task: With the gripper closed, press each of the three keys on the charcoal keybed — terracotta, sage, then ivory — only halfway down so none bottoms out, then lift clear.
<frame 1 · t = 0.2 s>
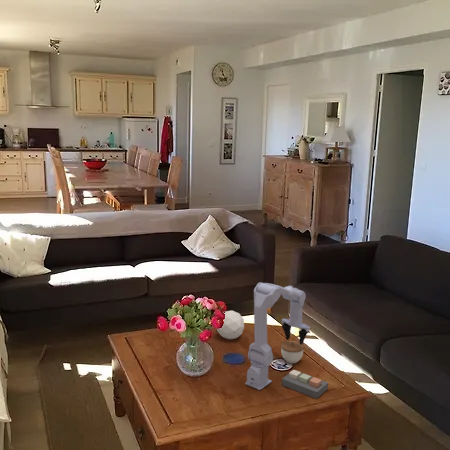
hand: (294, 341, 240), 10 cm above the table, fingers open, 7 cm apart
lidded jar: (291, 360, 243), on the table
keybed: (304, 387, 219), on the table
ivory key: (294, 375, 221), point 4 cm above the table, slide at 0.0 cm
terracotta key: (315, 383, 215), point 4 cm above the table, slide at 0.0 cm
sage key: (305, 379, 218), point 4 cm above the table, slide at 0.0 cm
geometric shape: (230, 337, 266), on the table
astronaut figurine: (260, 360, 243), on the table
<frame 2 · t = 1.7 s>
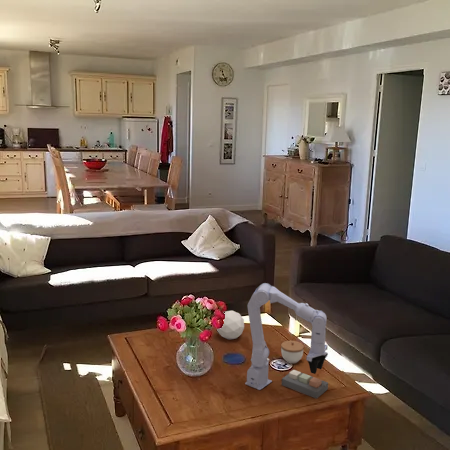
hand: (316, 370, 214), 9 cm above the table, fingers open, 4 cm apart
nothing on the table moved.
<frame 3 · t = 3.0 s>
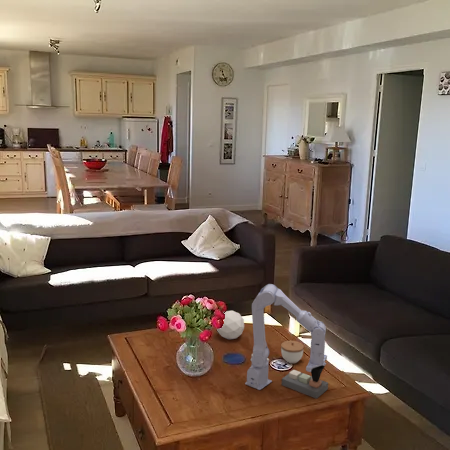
hand: (315, 380, 215), 5 cm above the table, fingers closed, pressing on terracotta key
terracotta key: (315, 383, 215), point 3 cm above the table, slide at 0.2 cm, touching gripper
everything else where it was.
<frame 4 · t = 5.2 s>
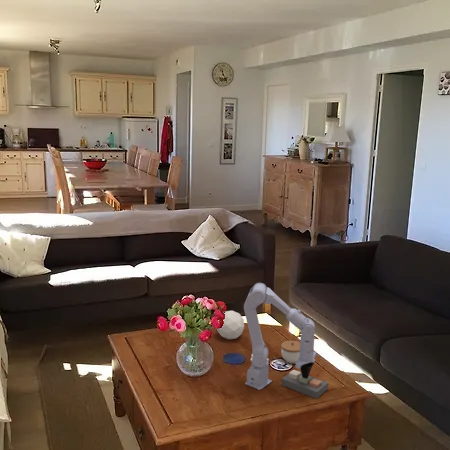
hand: (305, 377, 218), 4 cm above the table, fingers closed, pressing on sage key
terracotta key: (315, 384, 215), point 3 cm above the table, slide at 0.7 cm
sage key: (304, 380, 218), point 3 cm above the table, slide at 0.5 cm, touching gripper
everything else where it was.
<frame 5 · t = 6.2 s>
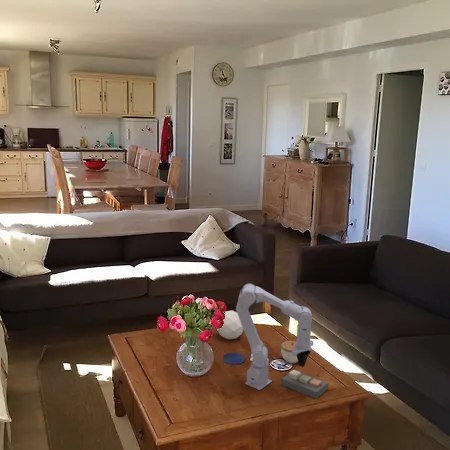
hand: (301, 365, 218), 9 cm above the table, fingers closed
sage key: (304, 380, 218), point 3 cm above the table, slide at 0.7 cm
everything else where it was.
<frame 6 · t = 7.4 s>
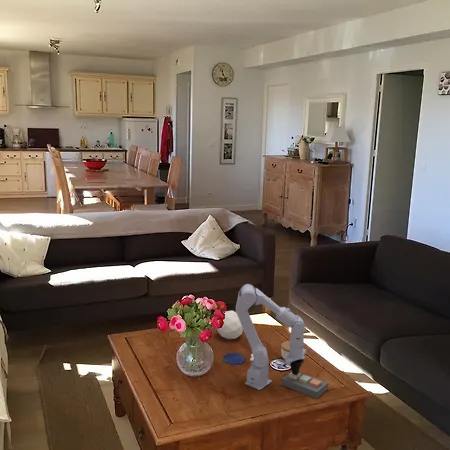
hand: (295, 374, 221), 4 cm above the table, fingers closed, pressing on ivory key
ivory key: (294, 376, 221), point 3 cm above the table, slide at 0.6 cm, touching gripper
everything else where it was.
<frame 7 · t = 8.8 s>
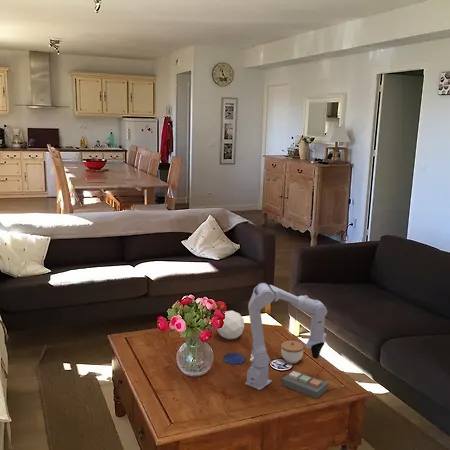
hand: (315, 357, 223), 10 cm above the table, fingers closed
ivory key: (294, 376, 221), point 3 cm above the table, slide at 0.7 cm
everything else where it was.
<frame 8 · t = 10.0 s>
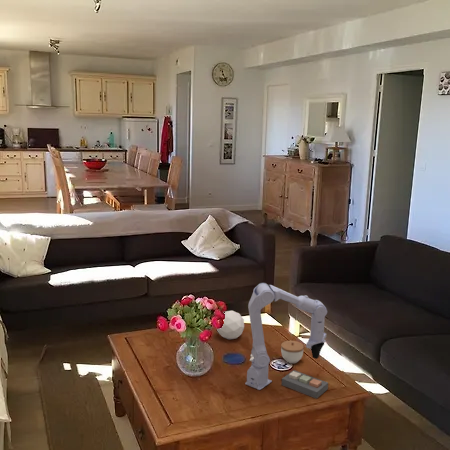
hand: (315, 357, 223), 10 cm above the table, fingers closed
nothing on the table moved.
at the end: terracotta key slide at 0.7 cm; sage key slide at 0.7 cm; ivory key slide at 0.7 cm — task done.
